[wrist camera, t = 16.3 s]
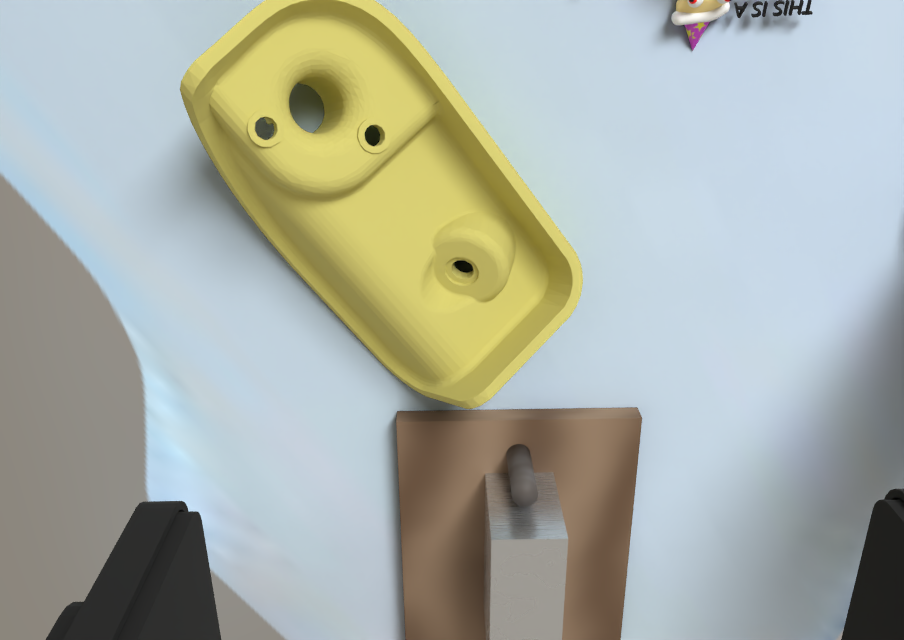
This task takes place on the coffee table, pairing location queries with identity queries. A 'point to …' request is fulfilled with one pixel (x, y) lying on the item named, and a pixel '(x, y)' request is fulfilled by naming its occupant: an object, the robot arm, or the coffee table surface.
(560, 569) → the block
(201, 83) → the plastic component
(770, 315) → the coffee table surface
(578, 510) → the pin tray
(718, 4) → the purple doll figure
